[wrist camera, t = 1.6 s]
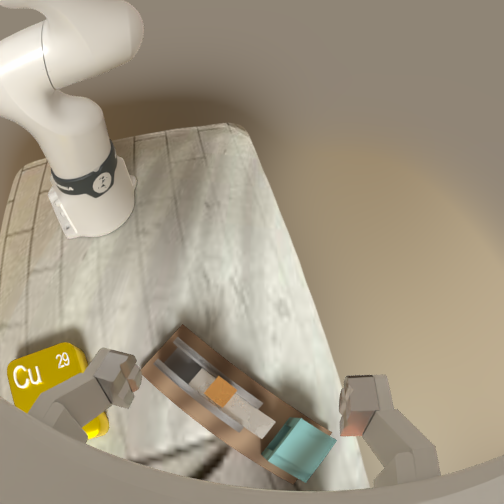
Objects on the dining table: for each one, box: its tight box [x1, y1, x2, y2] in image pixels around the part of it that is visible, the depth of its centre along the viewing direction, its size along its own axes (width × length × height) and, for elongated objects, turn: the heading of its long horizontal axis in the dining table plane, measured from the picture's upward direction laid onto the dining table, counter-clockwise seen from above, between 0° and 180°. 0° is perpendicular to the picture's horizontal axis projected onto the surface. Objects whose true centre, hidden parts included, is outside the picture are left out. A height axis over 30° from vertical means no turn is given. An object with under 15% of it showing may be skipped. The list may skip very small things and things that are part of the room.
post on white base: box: [188, 368, 276, 439], centre depth 32 cm, size 12×3×12 cm, turn 53°
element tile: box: [7, 342, 109, 440], centre depth 33 cm, size 15×15×5 cm
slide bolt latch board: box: [141, 324, 337, 484], centre depth 36 cm, size 28×10×8 cm, turn 53°
